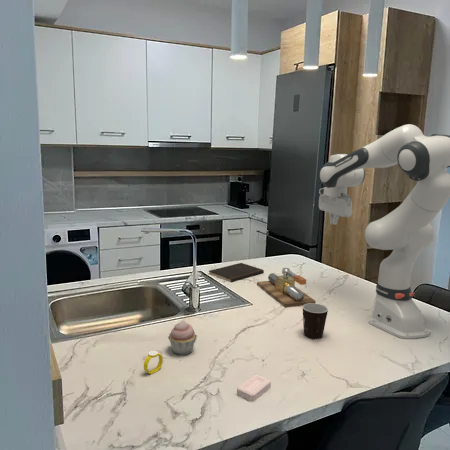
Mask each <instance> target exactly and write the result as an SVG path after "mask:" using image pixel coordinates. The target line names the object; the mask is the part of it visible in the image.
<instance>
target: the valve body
mask: <svg viewBox="0 0 450 450" xmlns="http://www.w3.org/2000/svg"><path fill="white" fill-rule="evenodd" d="M267 279H268V281H271V282H272V283H273V284H275V286H276V289H277V290H278V291H279V292H281V293H282V294H286V295H290V296H291V297H292V298H294V299H295V300H296V301H298V302H300V301H302V300H303V299H304V294H303V293H302V292H303V291H302V290H301V291H302V292H301V291H299V290H300V289H299V288H298V289H299V290H298V289H296V288H297V287H296V286H295V285H296V282H295V281H294V279H293V278H291V277H290V276H288V275H285V274H283V275H277V274H275V273H274V272H271V273H269V275H268V276H267ZM295 287H296V288H295Z"/></svg>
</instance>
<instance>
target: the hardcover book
mask: <svg viewBox="0 0 450 450" xmlns="http://www.w3.org/2000/svg"><path fill="white" fill-rule="evenodd" d="M208 272H209V273H208V275H210V276H213V277H215V276H216V278H217V279H221V280H224V281H227V282H229V283H235V282H237V281H242V280H244V279H249V278H252V277H255V276H260V275H261V274H264V272H265V271H264V269H262V268H259V267H255V266H253V265H249V264H247V263H243V262H239V263H236V264H235V263H234V264H232V265H226V266H221V267H219V268H215V269H211V270H208Z"/></svg>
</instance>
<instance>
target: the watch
mask: <svg viewBox="0 0 450 450" xmlns="http://www.w3.org/2000/svg"><path fill="white" fill-rule="evenodd" d="M157 357H158V363H157V365H156V366H155V368H152V369H151V370H149V368H148V366H149V363H150V360H151V359H153V358H157ZM163 361H164V357H163V356H162V354H161V353H159V352H158V351H157V350H150V351H149V352H148V355H147V357H146V358H145V360H144V362H143V370H144V371H145V373H147V374H148V375H153V374H155V373H156V372H158V371H160V369H161V368H162V366H163V363H164V362H163Z"/></svg>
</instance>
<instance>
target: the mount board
mask: <svg viewBox="0 0 450 450" xmlns="http://www.w3.org/2000/svg"><path fill="white" fill-rule="evenodd" d="M256 285H257V286H258V287H259V288H260V289H261V290H262V291H264V292H265V293H267V294H268V295H269V296H270V297H271V298H273V300H275V301H276V302H278V304H280V305H281V306H282V307H283V308H292V307H293V308H294V307H303V305H305V304H308V303H316V302H317V300H315V299H314V298H313V297H311V296H310V295H308V294H306V293H305V292H304V291H302V290H300V289H299V288H297V287H296V286H295V288H296V289H298V290H299V291H301V292H302V293H303V294H304V299H303V300H302V301H300V302H298V301H296V300H295V299H294V298H292V297H291V296H290V295H286V294H282V293H281V292H279V291H278V290H277V289H276V286H275V284H273V283H272V282H271V281H269V280H264V281H257V282H256ZM316 304H317V303H316Z"/></svg>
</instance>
